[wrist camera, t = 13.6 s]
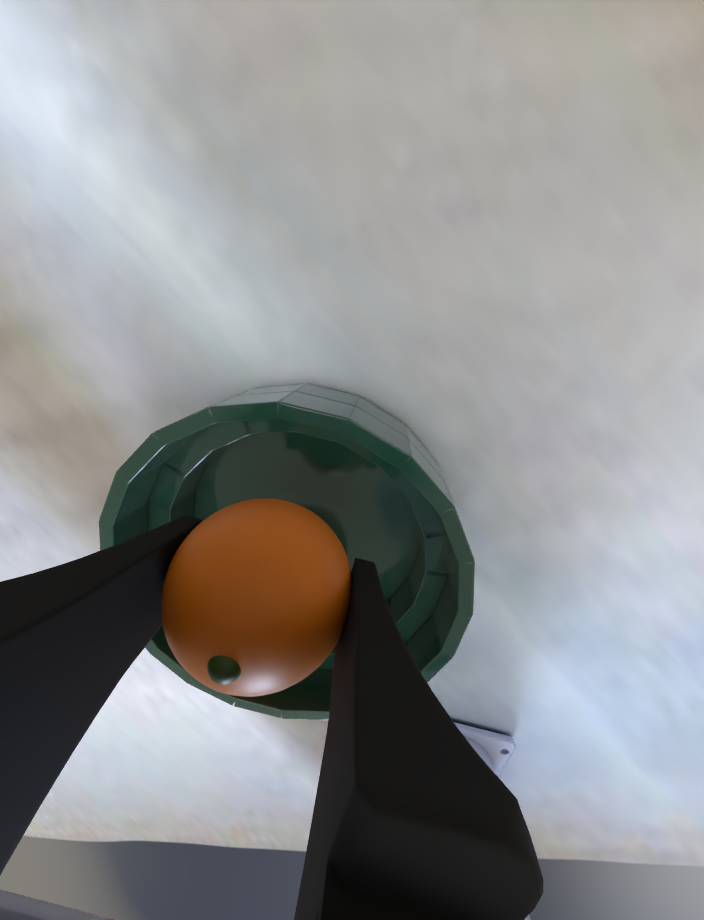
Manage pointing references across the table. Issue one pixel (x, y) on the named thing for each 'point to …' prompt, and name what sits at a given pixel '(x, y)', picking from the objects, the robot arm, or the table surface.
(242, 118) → the table surface
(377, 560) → the bowl
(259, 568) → the clementine
